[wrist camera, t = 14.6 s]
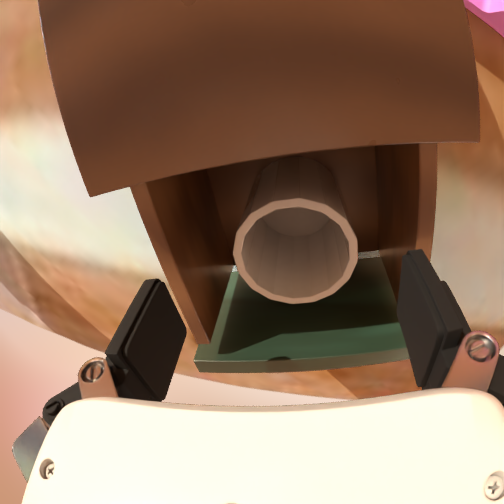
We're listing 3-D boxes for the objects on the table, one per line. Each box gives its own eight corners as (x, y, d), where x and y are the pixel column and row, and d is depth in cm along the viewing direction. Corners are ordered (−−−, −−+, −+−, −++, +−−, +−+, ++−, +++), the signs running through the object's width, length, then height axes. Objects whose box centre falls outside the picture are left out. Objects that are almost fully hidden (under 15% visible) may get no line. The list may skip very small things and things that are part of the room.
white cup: (261, 241, 21) (248, 307, 16) (243, 163, 18) (219, 208, 13) (343, 232, 20) (358, 298, 14) (335, 151, 17) (355, 191, 12)
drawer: (388, 307, 24) (409, 393, 17) (238, 320, 27) (219, 405, 20) (384, 70, 15) (451, 74, 7) (172, 104, 17) (93, 134, 10)
